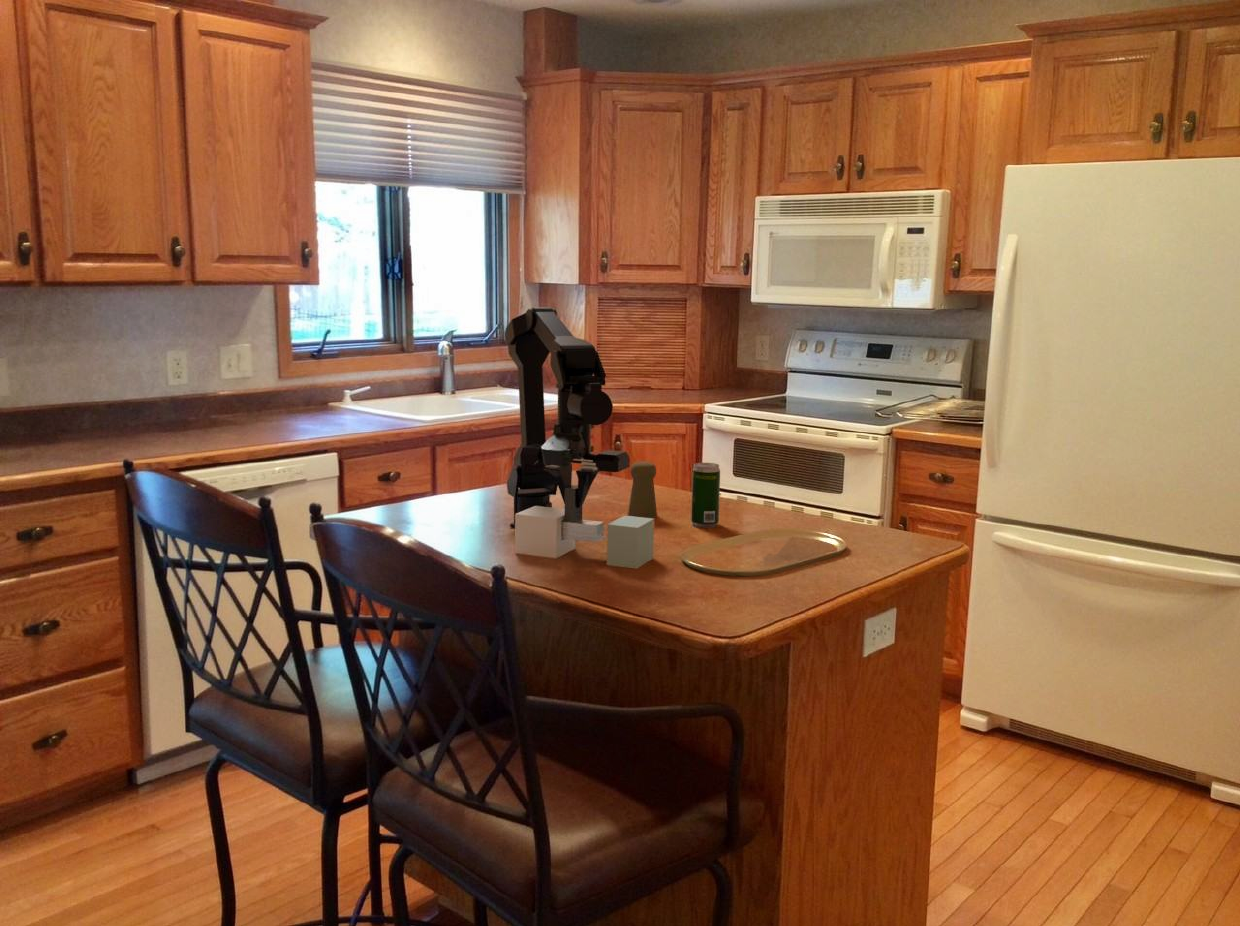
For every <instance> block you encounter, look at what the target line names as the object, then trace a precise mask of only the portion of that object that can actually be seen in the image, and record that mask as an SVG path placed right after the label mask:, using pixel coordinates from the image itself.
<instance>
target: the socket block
mask: <svg viewBox="0 0 1240 926" xmlns="http://www.w3.org/2000/svg"><path fill="white" fill-rule="evenodd" d="M606 531H607V533H606V565H607V566H613V567H620V568H630V569H639V568H640V567H643V565H645V564H646V563H648V562H649V561H651V560H653V559H654V551H655V550H654V547H655V546H654V545H655V543H654V540H655V518H643V517H634V516H628V515H623V516H621V517H619V518H617V519H615V520H613V521H611V522H609V523H607V525H606Z"/></svg>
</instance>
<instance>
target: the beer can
mask: <svg viewBox="0 0 1240 926" xmlns="http://www.w3.org/2000/svg"><path fill="white" fill-rule="evenodd" d="M691 482H692V483H691V486H692V487H691V488H692V489H691V518H690V520H691V523H692V525H693V526H694V527H697V528H706V529H707V528H708V529H709V528H715V527H717V526H718V524H719V519H720V518H719V516H720V492H721V491H720V490H721V489H720V487H721V486H720V484H721V469H720V464H718V463H714V462H696V463H694V464H693V468H692V480H691Z"/></svg>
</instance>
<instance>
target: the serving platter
mask: <svg viewBox="0 0 1240 926" xmlns="http://www.w3.org/2000/svg"><path fill="white" fill-rule="evenodd" d="M771 538H801V539H810V540H816V541H820V542H824V543H827V544H830V545H832V546H834V547H835V548H836V549H837V550H835V551H832V552H827V553H824V554H820V555H817V556H813V557H810V558H806V559H802V560H798V561H794V562H791V563H788V564H787V563H786V564H783V565H780V566H777V567H772V568H765V569H752V570H748V569H747V570H743V569H742V570H741V569H740V570H739V569H724V568H718V567H717V568H715V567H709V566H704V565H700V564H698V563H694V562H692V561H691V560H692V558H693V557H696V556H699V555H702V554H706V553H710V552H713V551H718V550H721V549H722V550H723V549H726V548H730V547H735V546H739V545H742V544H747V543H750V542H754V541H759V540H762V539H763V540H764V539H771ZM847 547H848V545H847V542H846V541H845V540H844V539H842V538H841V537H839V536H836V535H833V534H829V533H825V532H821V531H815V530H806V529H798V528H797V529H796V528H795V529H792V528H775V529H774V528H771V529H770V528H769V529H761V530H757V531H756V530H755V531H751V532H747V533H743V534H738V535H735V536H730V537H726V538H722V539H717V540H713V541H708V542H704V543H701V544H700V543H699V544H696V545H692V546H688V547H687V548H685V549H683V550H682V551H681V553H680V557H681V559H682V560H683V562H684V563H685V564H686V565H687V566H689V567H690V568H693V569H694V570H696V571H700V572H704V573H707V574H708V573H709V574H713V575H721V576H727V577H728V576H730V577H731V576H732V577H757V576H758V577H759V576H765V575H766V576H768V575H771V574H775V573H779V572H782V571H783V572H784V571H786V570H790V569H794V568H797V567H800V566H803V565H807V564H811V563H815V562H818V561H823V560H825V559H829V558H832V557H835V556H838V555H840V554H842V553H843V552H845V550H846V548H847Z"/></svg>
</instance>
